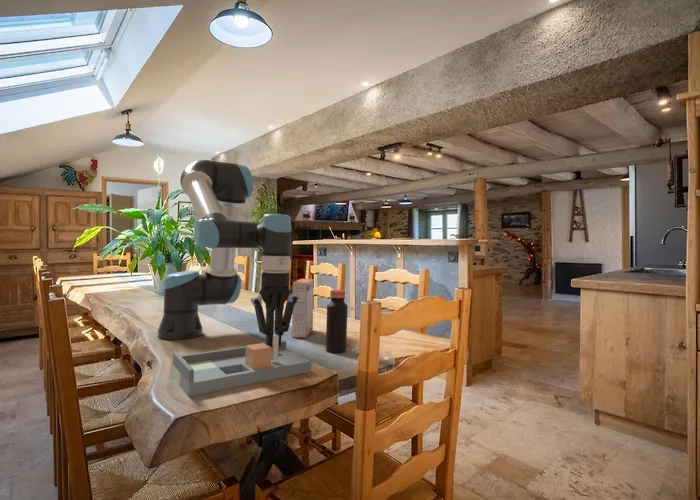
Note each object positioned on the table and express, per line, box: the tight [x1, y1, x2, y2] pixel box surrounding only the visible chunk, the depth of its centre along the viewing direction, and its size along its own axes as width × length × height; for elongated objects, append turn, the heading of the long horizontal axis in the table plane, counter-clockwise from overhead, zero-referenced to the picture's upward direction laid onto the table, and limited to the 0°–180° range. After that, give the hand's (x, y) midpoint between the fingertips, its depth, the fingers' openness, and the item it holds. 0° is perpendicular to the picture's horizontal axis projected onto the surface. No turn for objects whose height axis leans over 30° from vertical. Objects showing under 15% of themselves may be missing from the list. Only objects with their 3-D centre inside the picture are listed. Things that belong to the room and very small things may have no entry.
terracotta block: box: [245, 342, 271, 370], centre depth 101 cm, size 5×5×5 cm
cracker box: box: [291, 278, 315, 339], centre depth 150 cm, size 14×6×21 cm, turn 175°
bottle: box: [325, 289, 349, 354], centre depth 128 cm, size 7×7×20 cm
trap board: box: [172, 340, 312, 397], centre depth 103 cm, size 16×32×6 cm, turn 127°
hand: (273, 358), depth 104 cm, fingers closed
